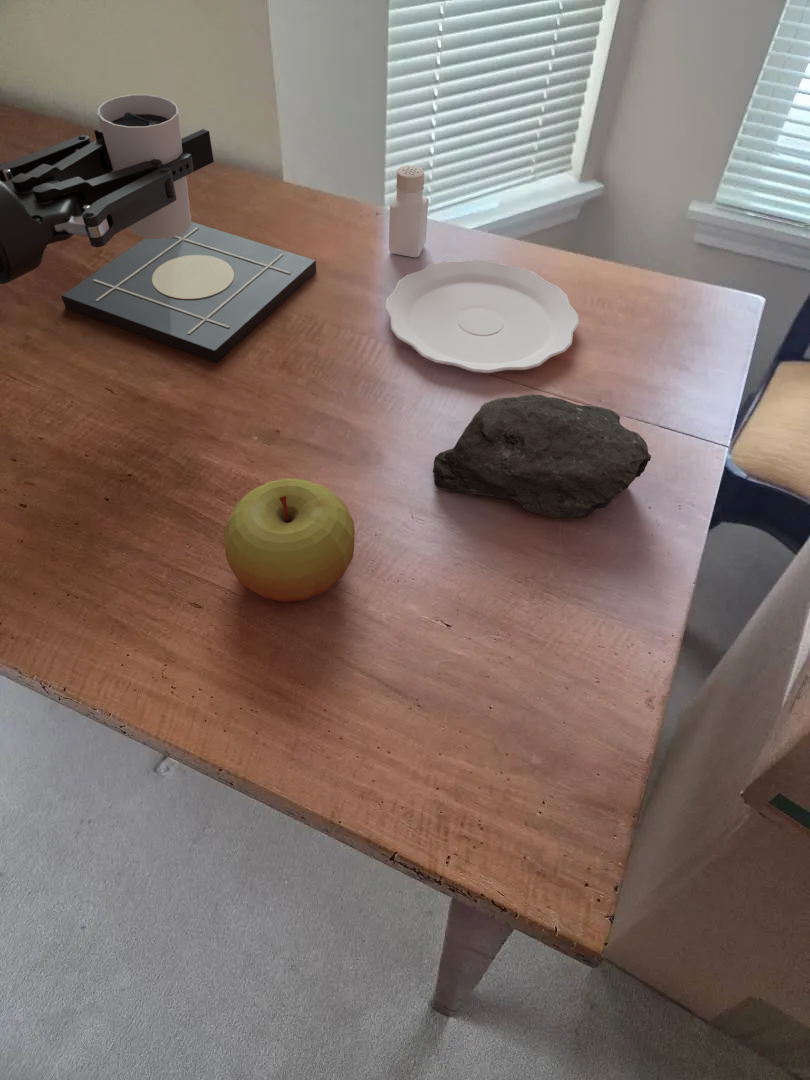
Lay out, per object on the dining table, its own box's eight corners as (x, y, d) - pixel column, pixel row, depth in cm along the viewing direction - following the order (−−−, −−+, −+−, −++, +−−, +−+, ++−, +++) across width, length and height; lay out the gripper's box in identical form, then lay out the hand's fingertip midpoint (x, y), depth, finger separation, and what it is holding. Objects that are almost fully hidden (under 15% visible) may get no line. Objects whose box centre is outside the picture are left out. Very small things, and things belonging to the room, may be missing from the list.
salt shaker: (426, 244, 94) (431, 166, 86) (418, 260, 91) (423, 181, 84) (395, 238, 94) (398, 161, 87) (387, 254, 92) (389, 176, 84)
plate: (421, 257, 92) (422, 244, 90) (589, 295, 88) (593, 282, 87) (358, 354, 79) (358, 341, 78) (552, 403, 75) (555, 390, 74)
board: (65, 307, 82) (60, 294, 81) (178, 228, 94) (175, 215, 93) (217, 363, 77) (214, 350, 76) (316, 271, 89) (316, 259, 87)
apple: (288, 506, 65) (280, 438, 59) (379, 559, 62) (380, 493, 55) (207, 579, 60) (188, 512, 53) (301, 642, 56) (293, 578, 50)
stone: (437, 516, 61) (448, 392, 59) (427, 492, 70) (436, 383, 67) (652, 528, 63) (673, 408, 60) (617, 504, 71) (634, 397, 69)
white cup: (115, 238, 69) (87, 124, 61) (133, 203, 73) (108, 91, 66) (188, 244, 69) (169, 130, 62) (202, 208, 74) (185, 97, 66)
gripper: (-78, 249, 63) (135, 153, 75) (58, 323, 57) (263, 206, 70) (-123, 156, 57) (116, 70, 70) (23, 228, 51) (254, 120, 64)
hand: (189, 138), depth 70 cm, fingers closed on white cup, 4 cm apart
